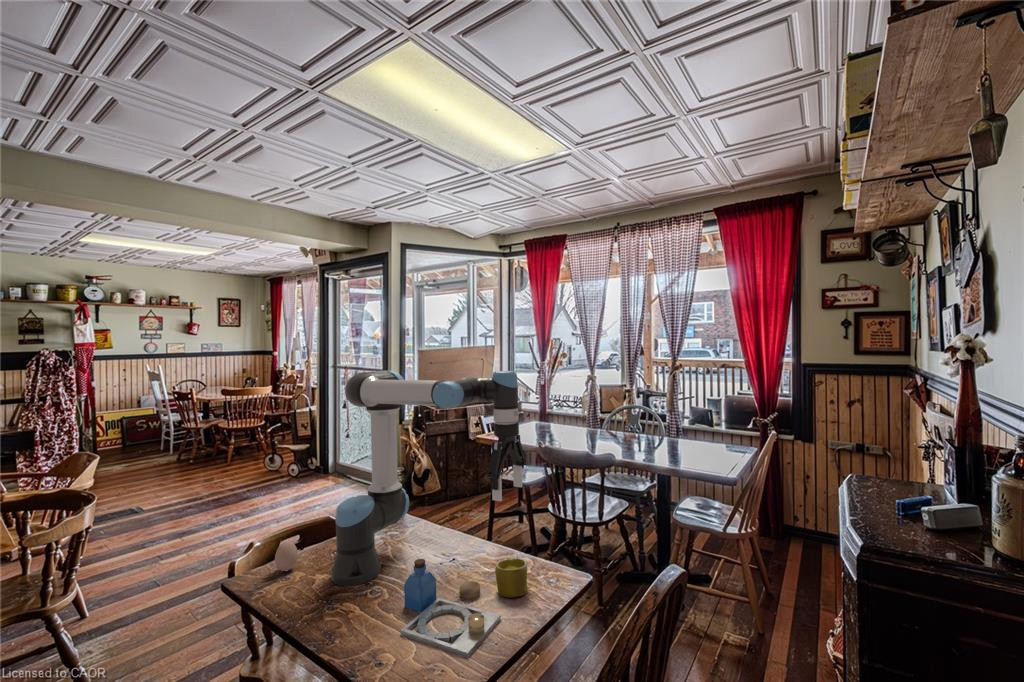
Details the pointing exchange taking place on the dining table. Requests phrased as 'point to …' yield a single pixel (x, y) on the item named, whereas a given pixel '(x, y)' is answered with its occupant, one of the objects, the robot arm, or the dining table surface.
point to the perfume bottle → (420, 588)
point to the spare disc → (469, 590)
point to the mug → (511, 577)
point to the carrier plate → (466, 636)
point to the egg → (286, 556)
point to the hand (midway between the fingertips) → (508, 493)
